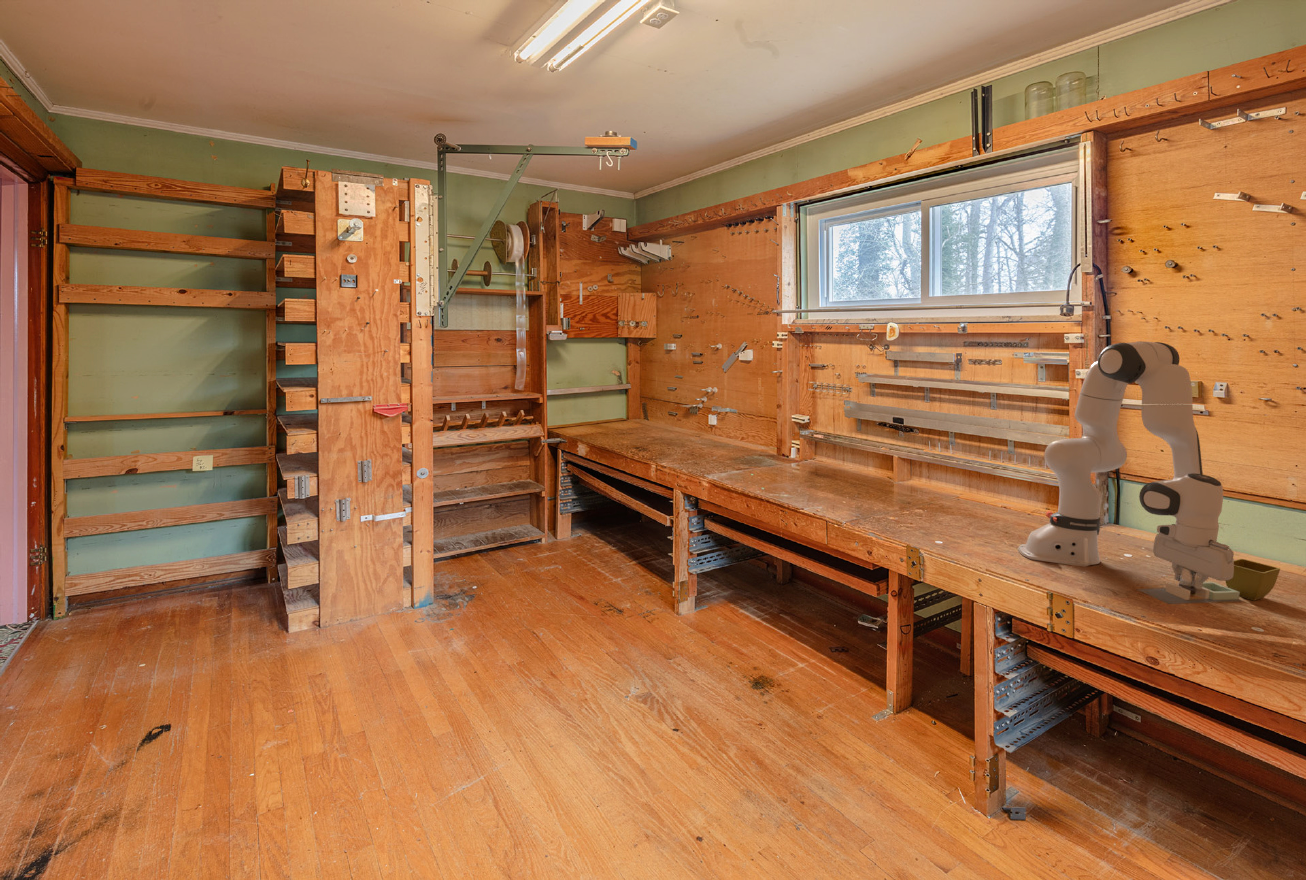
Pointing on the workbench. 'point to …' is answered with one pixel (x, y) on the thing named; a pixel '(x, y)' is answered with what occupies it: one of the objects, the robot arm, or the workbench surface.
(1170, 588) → the cradle
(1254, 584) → the flower pot
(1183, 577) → the cell
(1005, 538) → the workbench surface
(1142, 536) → the workbench surface
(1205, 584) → the pale green flat frame
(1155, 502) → the robot arm
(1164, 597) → the board
